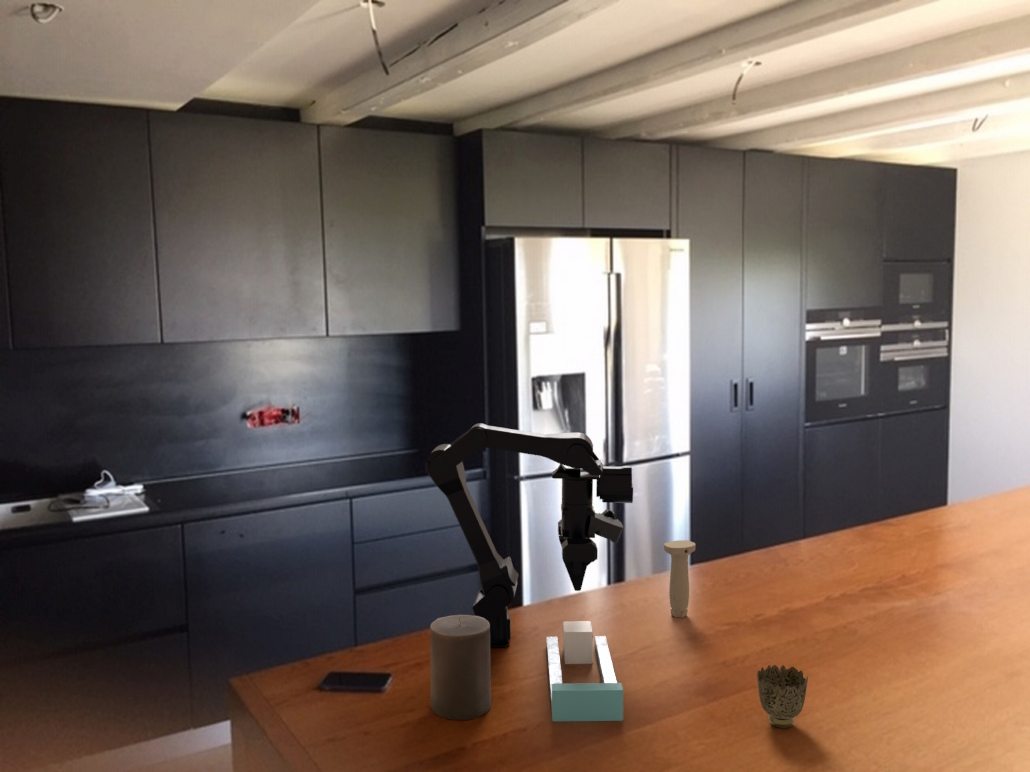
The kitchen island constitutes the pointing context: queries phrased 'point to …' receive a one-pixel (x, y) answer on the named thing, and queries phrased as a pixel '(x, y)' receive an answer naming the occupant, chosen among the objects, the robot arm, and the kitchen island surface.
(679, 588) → the handle
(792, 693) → the cup
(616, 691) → the track
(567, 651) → the block
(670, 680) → the kitchen island surface
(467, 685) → the pillar candle
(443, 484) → the robot arm
